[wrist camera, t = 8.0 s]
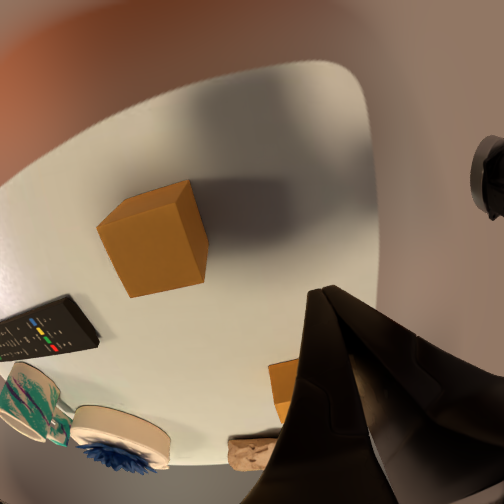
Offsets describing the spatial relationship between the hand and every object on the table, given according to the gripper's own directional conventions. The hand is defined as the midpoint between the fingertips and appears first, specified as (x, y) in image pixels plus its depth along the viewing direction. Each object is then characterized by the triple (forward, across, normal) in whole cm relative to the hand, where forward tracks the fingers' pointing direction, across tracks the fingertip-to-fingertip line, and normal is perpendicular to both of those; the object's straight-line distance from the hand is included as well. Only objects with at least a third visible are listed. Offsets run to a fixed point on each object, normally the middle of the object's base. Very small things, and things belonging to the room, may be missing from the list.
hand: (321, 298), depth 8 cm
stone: (+10, +7, +36) cm, 38 cm away
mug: (+10, +36, +18) cm, 41 cm away
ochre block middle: (+10, +1, +18) cm, 20 cm away
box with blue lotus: (+10, +28, +31) cm, 43 cm away
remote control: (+10, +30, +7) cm, 32 cm away
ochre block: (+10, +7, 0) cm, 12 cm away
